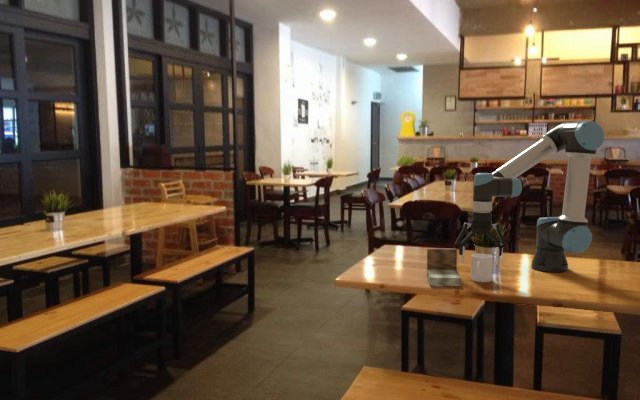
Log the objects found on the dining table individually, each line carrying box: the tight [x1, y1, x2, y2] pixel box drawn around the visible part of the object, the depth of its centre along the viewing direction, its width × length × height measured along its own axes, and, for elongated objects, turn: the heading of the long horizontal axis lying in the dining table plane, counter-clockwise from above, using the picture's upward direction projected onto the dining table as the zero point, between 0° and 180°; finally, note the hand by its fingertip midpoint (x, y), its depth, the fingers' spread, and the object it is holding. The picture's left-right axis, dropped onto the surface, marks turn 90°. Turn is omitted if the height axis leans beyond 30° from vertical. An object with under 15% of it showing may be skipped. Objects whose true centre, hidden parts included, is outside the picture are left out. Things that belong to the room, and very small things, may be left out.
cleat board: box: [426, 247, 462, 287], centre depth 231 cm, size 12×16×12 cm
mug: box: [470, 253, 493, 283], centre depth 230 cm, size 12×8×10 cm
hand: (479, 263), depth 230 cm, fingers open, 13 cm apart
